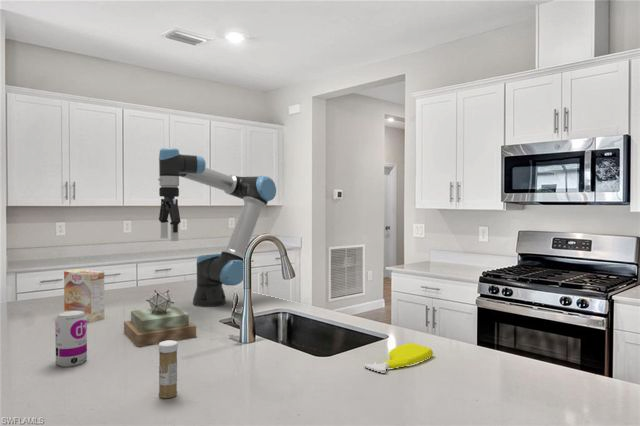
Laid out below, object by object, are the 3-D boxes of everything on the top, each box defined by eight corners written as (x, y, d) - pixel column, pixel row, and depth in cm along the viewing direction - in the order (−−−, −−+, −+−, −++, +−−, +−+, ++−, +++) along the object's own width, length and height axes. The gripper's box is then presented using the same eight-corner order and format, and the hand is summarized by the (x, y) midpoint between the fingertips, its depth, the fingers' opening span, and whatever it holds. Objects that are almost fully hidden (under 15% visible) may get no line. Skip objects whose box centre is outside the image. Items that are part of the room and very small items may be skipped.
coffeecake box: (63, 318, 188) (63, 271, 187) (78, 314, 194) (78, 268, 194) (90, 322, 182) (90, 273, 181) (105, 318, 189) (105, 271, 188)
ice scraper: (436, 358, 146) (388, 380, 129) (407, 350, 154) (359, 369, 137) (436, 349, 146) (388, 370, 129) (407, 341, 154) (359, 359, 137)
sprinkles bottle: (155, 395, 116) (155, 342, 116) (171, 389, 120) (171, 338, 119) (165, 400, 113) (165, 346, 113) (181, 394, 117) (181, 342, 116)
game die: (165, 321, 169) (182, 298, 172) (157, 319, 161) (175, 294, 164) (146, 308, 171) (163, 285, 173) (137, 305, 163) (155, 281, 165)
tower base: (178, 324, 181) (178, 303, 181) (196, 337, 165) (196, 314, 164) (124, 332, 170) (123, 310, 169) (137, 347, 153) (137, 323, 153)
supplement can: (92, 360, 140) (92, 311, 140) (68, 369, 133) (67, 317, 133) (74, 356, 144) (74, 308, 143) (49, 364, 136) (49, 314, 136)
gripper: (151, 187, 193) (151, 237, 194) (169, 186, 173) (169, 242, 174) (169, 187, 198) (169, 236, 198) (188, 186, 177) (188, 241, 178)
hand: (169, 239), depth 186 cm, fingers open, 13 cm apart
